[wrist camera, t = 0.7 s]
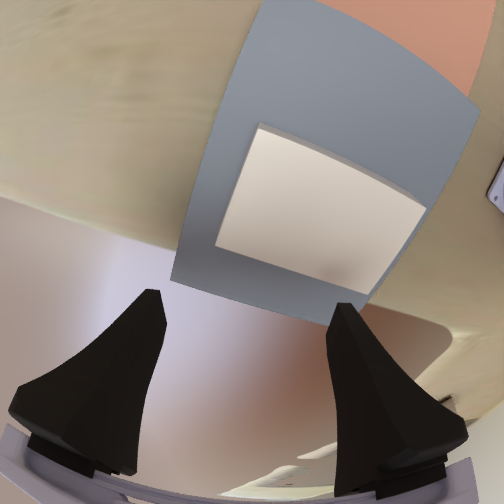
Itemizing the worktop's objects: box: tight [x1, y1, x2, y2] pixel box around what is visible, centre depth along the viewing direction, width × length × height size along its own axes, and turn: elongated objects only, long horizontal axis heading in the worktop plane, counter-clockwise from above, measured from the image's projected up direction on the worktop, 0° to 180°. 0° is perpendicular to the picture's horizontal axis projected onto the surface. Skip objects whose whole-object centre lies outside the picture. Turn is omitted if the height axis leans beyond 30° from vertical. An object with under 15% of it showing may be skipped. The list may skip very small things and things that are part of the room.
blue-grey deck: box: [170, 0, 481, 326], centre depth 16 cm, size 13×18×4 cm
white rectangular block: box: [215, 122, 427, 295], centre depth 14 cm, size 9×6×2 cm, turn 70°
